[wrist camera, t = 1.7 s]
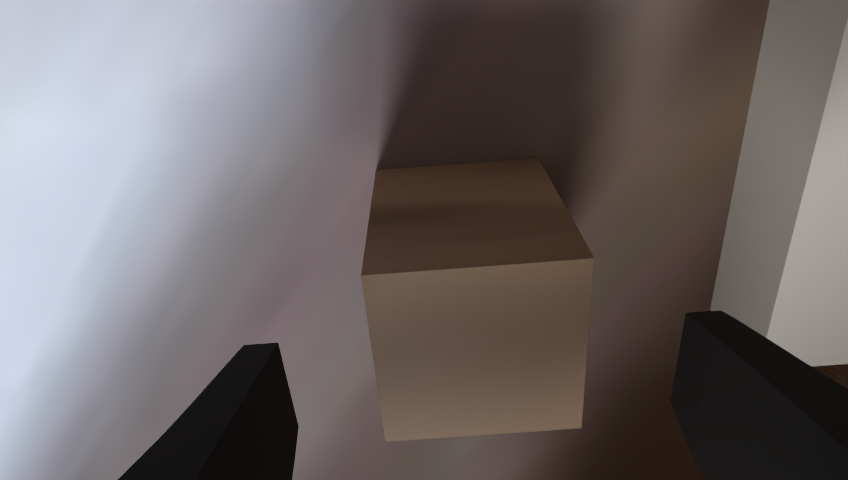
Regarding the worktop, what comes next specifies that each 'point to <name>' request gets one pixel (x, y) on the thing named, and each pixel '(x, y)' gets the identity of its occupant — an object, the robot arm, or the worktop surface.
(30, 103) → the worktop surface
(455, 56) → the worktop surface
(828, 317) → the riser
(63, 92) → the worktop surface
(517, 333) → the block
